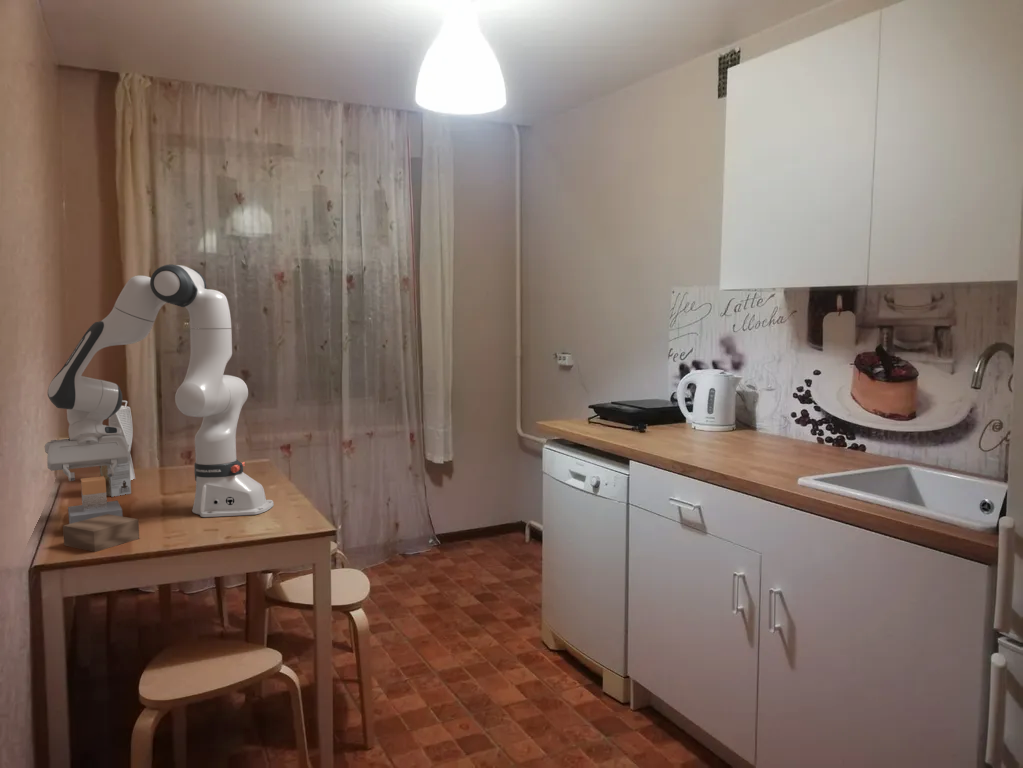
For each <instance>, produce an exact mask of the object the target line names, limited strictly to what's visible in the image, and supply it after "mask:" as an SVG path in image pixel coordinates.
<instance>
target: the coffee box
mask: <svg viewBox="0 0 1023 768" xmlns="http://www.w3.org/2000/svg"><path fill="white" fill-rule="evenodd" d="M128 446H129V445H128ZM110 468H111V465H104V466H99V472H100V473H99V475H100V476H104V478H105V480H106V496H109V497H110V496H111V498H113V497H114V496H115V497H120V495H121V496H126V495H131V494H132V486H131V485H132V481H131V480H130V460H129V462H128V463H124V464H117V467H116V469H115V471H114V476H113V477H108V473H107V471H108V469H110ZM100 476H99V477H100ZM125 494H126V495H125Z"/></svg>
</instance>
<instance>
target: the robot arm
mask: <svg viewBox="0 0 1023 768" xmlns="http://www.w3.org/2000/svg"><path fill="white" fill-rule="evenodd" d="M207 287H208V286H207V282H206V280H205V277H204V275H202V274H201V273H200V272H199V271H198V270H196V269H194V268H191V267H189V266H186V265H183V264H182V265H181V264H180V265H179V264H174V263H173V264H172V263H170V264H165V265H161V266H160V267H158V268H156V270H154V271H153V273H152V275H151V276H147V275H134V276H131V277H130V279H128V281H127V282H126V283H125V285H124V287H122V289H121V292H120V293H119V295H118V297H117V299H116V300H115V303H114V305H113V307H112V310H110V312H109V314H107V316H106V317H104V318H103V319H102V320H100V321H99V320H98V321H95V322H94V323H92V324H91V326H90V327H88V329H87V330H86V332H85V333H84V335H83V336H82V337H81V339H80V340H79V342H78V343H77V345H76V346H75V348H73V349H74V350H73V351H72V353H71V354H70V356H69V358H67V360H66V362H65V363H64V365H63V366H62V368H60V370H59V371H58V373H57V374H56V375H55V376H54V378H53V379H52V380H51V382H50V383H49V384H48V385H49V386H48V389H47V397H48V399H49V401H50V402H51V403H52V404H53V406H54V407H56V408H57V409H61V410H64V409H65V410H66V418H67V423H68V424H69V425H68V431H67V432H68V437H69V438H62V439H52V440H50V441H48V442H46V443H45V445H44V452H45V453H46V455H47V457H46V458H47V459H46V460H47V461H46V463H47V469H49V470H50V471H51V472H53V471H61V470H62V473H63V474H64V475H65V476H67V477H68V482H72V481H73V482H74V481H76V476H75V474H76V473H75V471H73V472H71V471H70V470H73V469H80V468H82V469H83V468H92V467H93V468H94V467H100V466H104V465H111V468H110V469H108V471H107V473H108V477H113V476H114V471H115V469H116V467H117V464H124V463H128V462H129V460H130V455H131V450H129V446H128V443H127V441H126V439H125V438H124V437H123V436H122V430H121V428H118V427H111V426H109V425H106V424H103V422H104V420H109V418H110V417H111V416H112V415H114V414H115V413H116V412H117V411H118V410H119V409H120V408H121V406H123V402H122V401H123V393H122V391H121V390H122V389H121V388H120V386H119V385H118V384H117V383H115V382H112V381H109V380H108V381H107V380H104V379H99V378H98V379H97V378H93V377H87V376H85V375H83V373H84V371H85V370H86V368H87V367H88V366H89V364H90V362H91V361H92V359H93V358H94V356H95V355H96V354H97V352H99V351H101V350H102V349H104V348H108V347H113V346H123V345H124V346H125V345H133V344H135V343H139V342H141V341H143V340H144V339H146V338H147V337H148V335H149V334H150V332H151V331H152V329H153V326H154V324H155V321H156V319H157V317H158V313H159V312H160V310H161V309H162V307H163V306H164V305H165V304H170V305H174V306H177V307H180V308H186V310H187V312H188V314H189V315H188V316H189V328H190V329H189V330H190V331H189V332H190V333H189V334H190V335H189V337H190V339H189V340H190V356H189V363H188V367H187V371H186V374H185V377H184V380H183V381H182V383H181V384H180V386H179V387H178V388H177V389H176V393H175V397H174V400H175V405H176V407H177V409H178V410H179V412H181V413H182V414H183V415H184V416H186V417H187V416H188V417H194V418H202V422H201V425H200V427H199V429H198V430H197V432H196V433H195V436H194V449H195V450H194V451H195V462H194V472H193V473H194V480H195V496H194V502H193V506H192V509H191V511H192V513H193V514H196V515H199V516H200V517H202V518H212V517H213V518H214V517H215V518H216V517H232V516H233V517H234V516H235V517H236V516H254V515H259V514H262V513H264V512H267V511H269V510H270V509H272V508H273V507H274V500H272V499H266V494H265V493H266V492H265V489H264V487H263V485H262V484H261V483H260V482H259V481H257V480H255V479H254V478H252V477H251V476H249V475H248V474H246V473H245V472H244V467H245V466H246V465H245V464H246V462H245V461H243V462H240V461H239V460H238V459H237V440H236V438H237V427H238V423H239V418H240V414H241V412H242V408H243V406H244V405H245V403H246V402H247V400H248V398H249V389H248V385H247V384H246V383H245V381H244V380H243V379H242V378H240V377H237V376H234V375H230V374H225V373H224V372H225V370H226V366H227V364H228V362H229V361H230V359H231V358H232V355H233V338H232V337H233V336H232V334H233V333H232V332H233V331H232V319H231V317H232V316H231V311H230V305H229V300H228V299H227V296H226V295H225V294H224V293H223V292H221V291H219V290H215V289H207Z"/></svg>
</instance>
